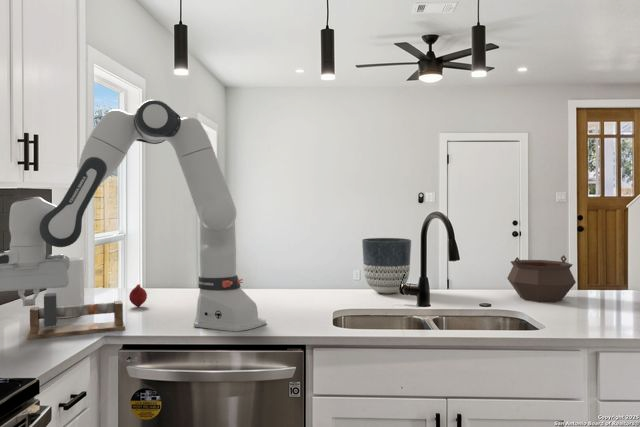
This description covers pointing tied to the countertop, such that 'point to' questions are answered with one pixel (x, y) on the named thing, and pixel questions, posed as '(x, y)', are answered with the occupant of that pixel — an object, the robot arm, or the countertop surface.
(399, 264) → the planter
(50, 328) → the pipe rack
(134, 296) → the onion
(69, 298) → the cup
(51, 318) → the collar
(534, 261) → the brown cauldron
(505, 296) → the countertop surface
